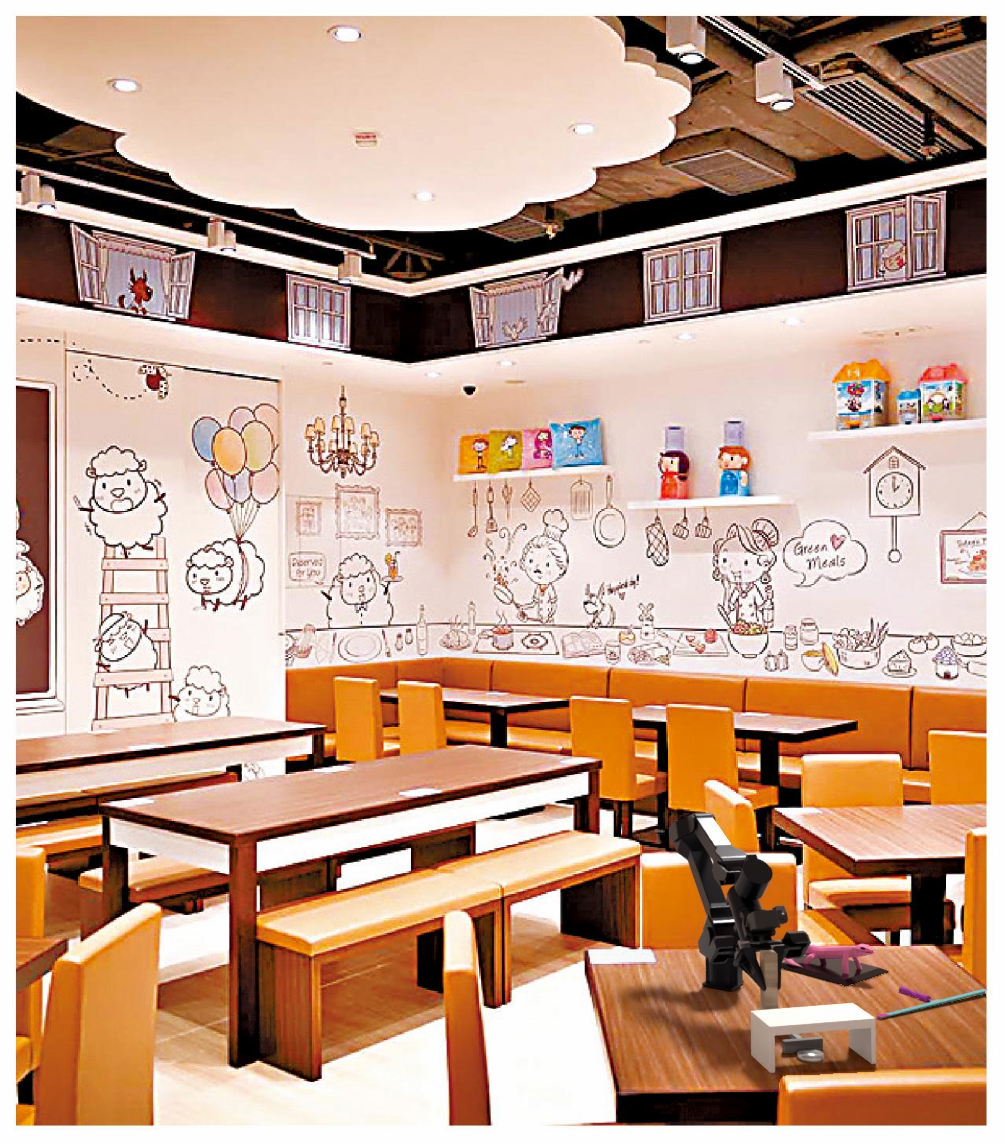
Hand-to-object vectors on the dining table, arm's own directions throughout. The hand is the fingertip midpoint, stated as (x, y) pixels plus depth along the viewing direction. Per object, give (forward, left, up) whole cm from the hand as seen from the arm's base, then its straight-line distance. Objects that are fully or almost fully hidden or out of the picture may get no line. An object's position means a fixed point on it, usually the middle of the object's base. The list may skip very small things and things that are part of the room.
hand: (772, 989), depth 221 cm
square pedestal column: (+3, -3, -7) cm, 8 cm away
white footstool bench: (+12, -12, -7) cm, 18 cm away
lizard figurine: (-2, +39, -7) cm, 40 cm away
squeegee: (+18, +29, -7) cm, 35 cm away
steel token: (+11, -11, -7) cm, 17 cm away
